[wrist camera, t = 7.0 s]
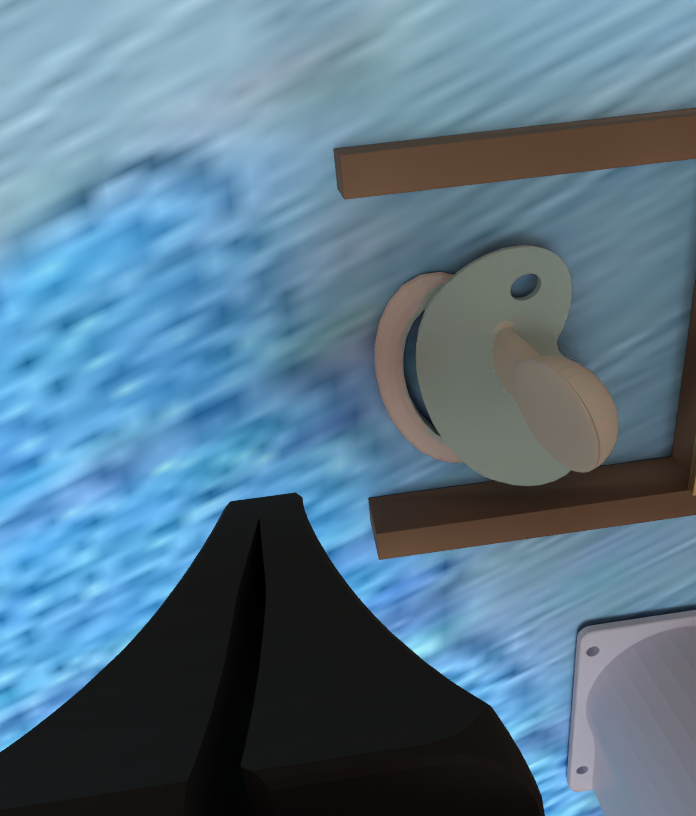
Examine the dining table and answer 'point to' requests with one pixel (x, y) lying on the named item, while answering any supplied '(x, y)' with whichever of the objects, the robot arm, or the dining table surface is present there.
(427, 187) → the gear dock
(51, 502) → the dining table surface
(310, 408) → the dining table surface
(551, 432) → the pacifier
